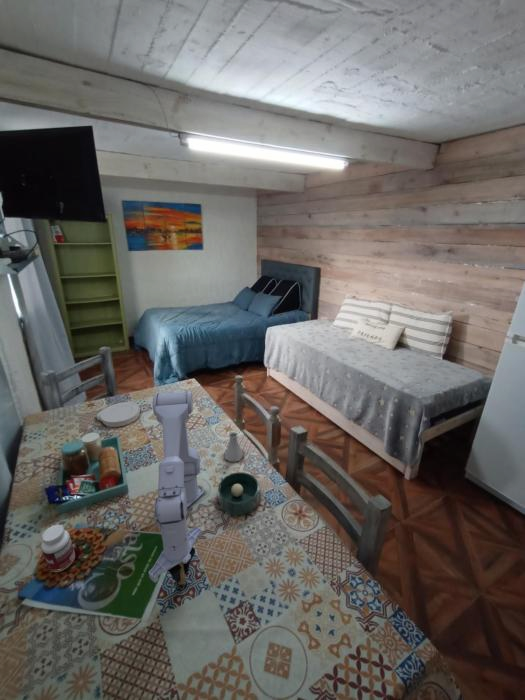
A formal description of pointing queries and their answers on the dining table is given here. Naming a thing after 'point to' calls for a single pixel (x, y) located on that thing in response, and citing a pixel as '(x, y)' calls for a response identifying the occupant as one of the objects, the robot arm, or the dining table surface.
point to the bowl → (243, 502)
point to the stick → (182, 574)
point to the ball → (237, 490)
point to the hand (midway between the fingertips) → (180, 575)
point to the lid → (119, 414)
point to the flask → (233, 449)
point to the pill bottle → (57, 548)
